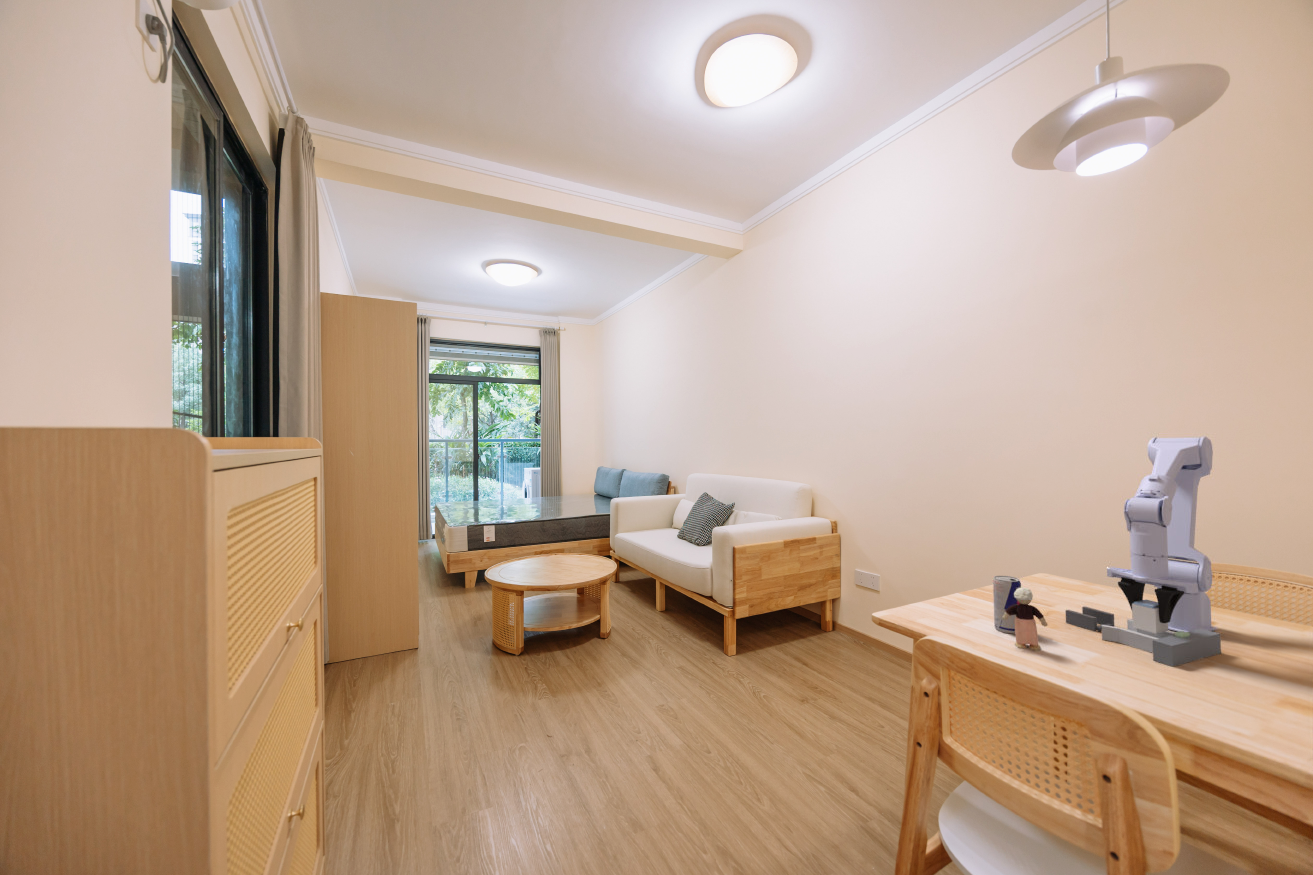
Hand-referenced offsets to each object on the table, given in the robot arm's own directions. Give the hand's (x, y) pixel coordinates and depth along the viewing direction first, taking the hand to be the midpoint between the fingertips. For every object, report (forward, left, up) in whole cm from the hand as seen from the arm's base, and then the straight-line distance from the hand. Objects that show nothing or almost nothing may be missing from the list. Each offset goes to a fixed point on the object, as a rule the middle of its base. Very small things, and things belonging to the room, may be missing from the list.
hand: (1151, 618), depth 107 cm
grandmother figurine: (+24, -10, -6) cm, 27 cm away
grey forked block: (0, 0, -6) cm, 6 cm away
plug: (0, 0, -2) cm, 2 cm away
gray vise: (-5, -13, -6) cm, 15 cm away
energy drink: (+18, -18, -6) cm, 26 cm away
